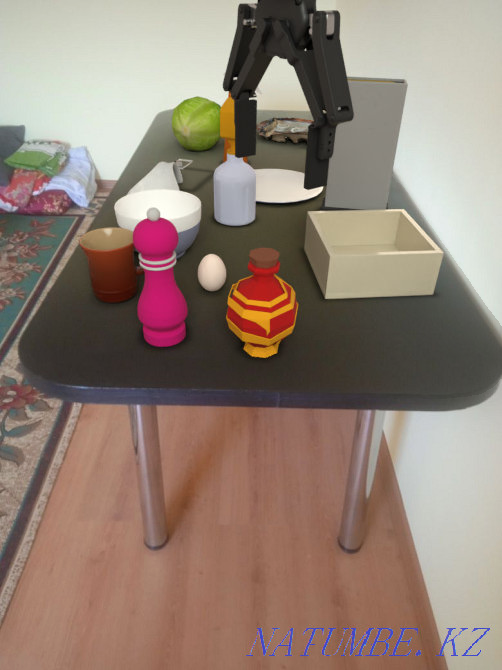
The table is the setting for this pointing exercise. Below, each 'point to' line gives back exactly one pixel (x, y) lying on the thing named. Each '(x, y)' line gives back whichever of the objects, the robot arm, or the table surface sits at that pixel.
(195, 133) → the lettuce
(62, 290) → the table surface
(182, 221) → the bowl
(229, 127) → the white cleaner bottle
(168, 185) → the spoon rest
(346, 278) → the cream open box
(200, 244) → the table surface
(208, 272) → the egg
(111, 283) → the mug
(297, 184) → the plate
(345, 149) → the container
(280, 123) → the grey piece
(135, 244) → the pepper mill
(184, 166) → the binder clip
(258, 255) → the potion bottle
